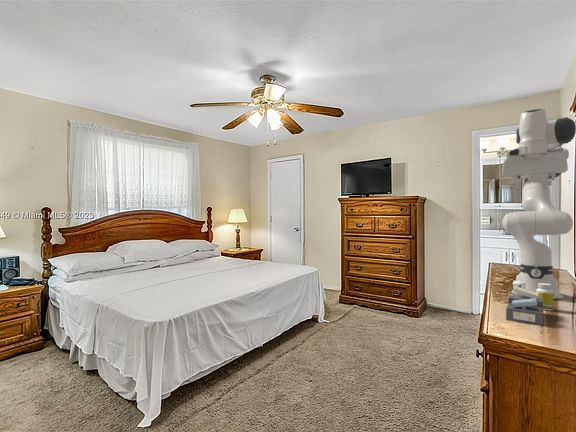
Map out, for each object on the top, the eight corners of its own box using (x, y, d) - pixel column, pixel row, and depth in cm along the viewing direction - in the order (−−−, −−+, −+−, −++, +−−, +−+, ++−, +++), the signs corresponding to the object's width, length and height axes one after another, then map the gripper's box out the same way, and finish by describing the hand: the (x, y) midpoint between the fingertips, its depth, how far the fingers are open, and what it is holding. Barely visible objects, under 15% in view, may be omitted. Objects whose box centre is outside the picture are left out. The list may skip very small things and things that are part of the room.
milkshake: (529, 304, 132) (529, 280, 132) (513, 302, 135) (513, 279, 135) (527, 302, 136) (527, 278, 136) (512, 300, 139) (512, 277, 139)
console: (510, 308, 126) (510, 291, 126) (543, 313, 120) (542, 294, 120) (506, 319, 112) (506, 300, 112) (542, 325, 105) (542, 304, 105)
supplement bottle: (557, 311, 122) (556, 285, 122) (540, 310, 123) (540, 285, 124) (548, 307, 128) (548, 282, 128) (533, 306, 129) (532, 282, 129)
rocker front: (514, 304, 116) (512, 300, 117) (537, 302, 112) (536, 298, 112) (512, 307, 112) (511, 303, 112) (537, 305, 108) (535, 301, 108)
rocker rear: (514, 289, 124) (515, 285, 124) (536, 296, 120) (537, 293, 119) (513, 291, 119) (514, 288, 119) (536, 299, 115) (537, 295, 115)
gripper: (568, 148, 121) (568, 185, 120) (503, 155, 133) (503, 188, 133) (569, 145, 116) (569, 183, 115) (501, 152, 128) (501, 187, 128)
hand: (533, 186), depth 124 cm, fingers open, 8 cm apart
